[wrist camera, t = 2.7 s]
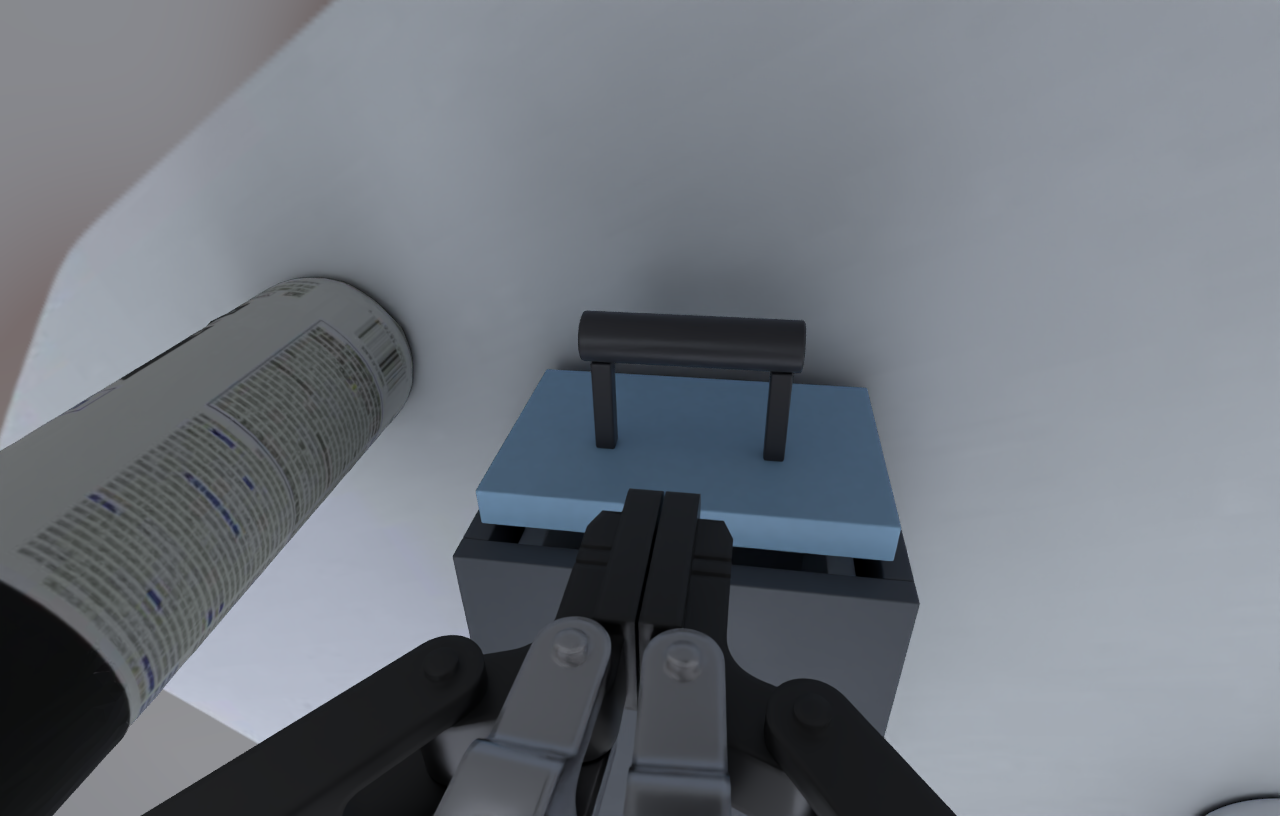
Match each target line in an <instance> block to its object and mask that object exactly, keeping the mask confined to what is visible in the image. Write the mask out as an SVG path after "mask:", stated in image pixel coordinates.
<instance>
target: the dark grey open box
mask: <svg viewBox="0 0 1280 816" xmlns="http://www.w3.org/2000/svg"><path fill="white" fill-rule="evenodd" d="M525 528H526V527H520V526H509V525H498V524H487V523H482V522H481V517H480V511H479V510H478V512H477V514H476V515H475V517H474V519H473V521H472V523H471V524H470V526H469V528H468V530H467V532H466V533H465V535H464V537H463V539H462V541H461V543H460V544H459V546H458V548H457V550H456V551H455V553H454V555H453V560H454V565H455V570H456V574H457V579H458V583H459V588H460V593H461V597H462V602H463V606H464V611H465V616H466V620H467V625H468V629H469V634H470V638H471V640H473V641H474V642H475V643H476V644H478V646H479V647H480V648H481V650H482V653H483V654H489V653H495V652H501V651H507V650H512V649H517V648H520V647H523V646H526V645H528V644H530V643H532V642H533V640H534V638H535V637H536V635H537V634H538V633H539V631H540V630H541V629H542V628H544V627H545V626H546V625H548V624H549V623H551V622H553V621H554V620H555V618H556V615H557V612H558V609H559V606H560V603H561V601H562V598H563V595H564V592H565V589H566V586H567V583H568V580H569V577H570V574H571V571H572V568H573V565H574V563H575V562H576V557H577V554H578V551H579V549H568V548H558V547H548V546H538V545H527V544H518V543H519V541H520V539H521V536H522V534H523V532H524V530H525ZM853 560H854V566H855V573H856V576H846V575H836V574H826V573H815V572H805V571H795V570H784V569H774V568H764V567H754V566H743V565H733V564H731V580H730V596H729V611H728V626H727V644H728V648H729V651H730V653H731V655H732V657H733V658H734V660H735V661H736V662H737V664H738V665H739V666H740V667H741V668H742V669H743V670H745V671H746V672H747V673H749V674H750V675H752V676H754V677H756V678H758V679H760V680H762V681H764V682H767V683H769V684H772V685H774V686H776V687H778V686H779V685H781V684H782V683H784V682H787V681H789V680H793V679H800V678H807V679H814V680H819V681H821V682H824V683H827V684H828V685H830V686H832V687H834V688H835V689H837V690H838V691H840V692H841V693H842V694H843V695H844V696H845V697H846V698H847V699H848V700H849V701H850V702H851V703H852V704H853V706H854V707H855V708H856V709H857V710H858V711H859V712H860V713H861V714H862V715H863V716H864V717H865V718H866V719H867V720H868V722H869V723H870V724H871V725H872V726H873V727H874V728H875V729H876V730H877V731H878V732H879V733H880V734H881V735H882V736H883V738H884V735H885V731H886V727H887V724H888V720H889V716H890V712H891V709H892V705H893V701H894V698H895V694H896V690H897V686H898V683H899V679H900V675H901V672H902V668H903V664H904V660H905V657H906V653H907V649H908V646H909V642H910V638H911V634H912V631H913V627H914V623H915V619H916V616H917V612H918V608H919V605H920V603H919V599H918V595H917V591H916V587H915V583H914V579H913V575H912V571H911V567H910V563H909V559H908V554H907V550H906V546H905V542H904V538H903V534H902V530H901V531H900V535H899V540H898V544H897V548H896V553H895V557H894V560H893V561H884V560H873V559H862V558H853ZM636 718H637V711H633V710H625V709H624V710H623V715H622V720H621V725H620V730H619V734H618V737H617V750H616V754H615V758H614V761H613V765H612V768H611V772H610V775H609V779H608V783H607V786H606V790H605V793H604V797H603V800H602V804H601V807H600V811H599V814H598V816H623V811H624V801H625V791H626V782H627V775H628V770H629V767H630V766H631V764H632V758H633V748H634V738H635V728H636ZM731 814H732V816H748V815H746V814H744V813H742V812H740V811H738V810H736V809H734V808H733V807H731Z"/></svg>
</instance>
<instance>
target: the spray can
mask: <svg viewBox="0 0 1280 816" xmlns="http://www.w3.org/2000/svg"><path fill="white" fill-rule="evenodd" d="M412 367H413V360H412V355H411V351H410V348H409V345H408V343H407V340H406V337H405V335H404V332H403V330H402V328H401V327H400V326H399V325H398V323H397V322H396V321H395V320H394V319H393V318H392V317H391V316H390V315H389V314H388V313H387V312H386V311H385V310H384V309H383V308H382V307H381V306H380V305H379V304H378V303H377V302H376V301H374V300H373V299H372V298H370V297H369V296H368V295H366V294H364V293H363V292H361V291H359V290H358V289H356V288H354V287H353V286H351V285H349V284H347V283H344V282H341V281H337V280H331V279H326V278H300V279H292V280H289V281H285V282H282V283H279V284H277V285H275V286H273V287H271V288H269V289H267V290H265V291H264V292H262V293H260V294H258V295H257V296H255V297H253V298H252V299H250V300H249V301H247V302H245V303H244V304H242V305H240V306H239V307H237V308H235V309H234V310H232V311H230V312H229V313H227V314H225V315H223V316H221V317H219V318H217V319H215V320H213V321H211V322H210V323H209V324H208V325H207V326H206V327H205V328H203V329H202V330H200V331H198V332H196V333H195V334H193V335H191V336H189V337H188V338H186V339H185V340H183V341H182V342H180V343H178V344H177V345H175V346H173V347H172V348H170V349H169V350H167V351H165V352H164V353H162V354H160V355H159V356H157V357H155V358H154V359H152V360H150V361H149V362H147V363H145V364H144V365H142V366H140V367H139V368H137V369H135V370H134V371H132V372H130V373H129V374H127V375H126V376H124V377H122V378H121V379H119V380H117V381H116V382H114V383H112V384H111V385H109V386H107V387H106V388H104V389H102V390H101V391H99V392H97V393H96V394H94V395H92V396H91V397H89V398H87V399H86V400H84V401H82V402H81V403H79V404H77V405H76V406H74V407H73V408H71V409H69V410H68V411H66V412H64V413H63V414H61V415H59V416H58V417H56V418H54V419H53V420H51V421H49V422H47V423H46V424H44V425H42V426H41V427H39V428H38V429H36V430H34V431H33V432H31V433H30V434H28V435H26V436H25V437H23V438H22V439H20V440H18V441H17V442H15V443H13V444H12V445H10V446H8V447H6V448H5V449H3V450H1V451H0V816H53V815H54V813H55V812H56V811H57V810H58V809H59V808H60V807H61V805H62V804H63V803H64V802H65V801H66V800H67V799H68V798H69V797H70V795H71V794H72V793H73V792H74V791H75V790H76V789H77V788H78V787H79V786H80V784H81V783H82V782H83V781H84V780H85V779H86V778H87V777H88V776H89V775H90V773H91V772H92V771H93V770H94V769H95V768H96V767H97V766H98V764H99V763H100V762H101V761H102V760H103V759H104V758H105V757H106V755H107V754H108V753H109V752H110V751H111V750H112V749H113V748H114V747H115V746H116V745H117V744H118V743H119V742H120V741H121V739H122V738H123V737H124V735H125V733H126V732H127V730H128V728H129V727H130V726H131V725H132V723H133V722H134V721H135V720H136V719H137V718H138V717H139V715H140V714H141V713H142V712H143V711H144V710H145V709H146V708H147V706H148V705H149V704H150V703H151V702H152V701H153V700H154V699H155V698H156V697H157V695H158V694H159V693H160V692H161V690H162V689H163V688H164V687H165V685H166V684H167V683H168V682H169V681H170V679H171V678H172V677H173V676H174V674H175V673H176V672H177V671H178V670H179V668H180V667H181V666H182V665H183V664H184V663H185V662H186V661H187V659H188V658H189V657H190V656H191V655H192V654H193V653H194V652H195V651H196V650H197V648H198V647H199V646H200V645H201V643H202V642H203V641H204V640H205V639H206V638H207V636H208V635H209V634H210V633H211V632H212V631H213V629H214V628H215V627H216V626H217V625H218V624H219V622H220V621H221V620H222V619H223V618H224V616H225V615H226V614H227V613H228V612H229V611H230V609H231V608H232V607H233V606H234V605H235V604H236V602H237V601H238V600H239V599H240V598H241V597H242V595H243V594H244V593H245V592H246V591H247V590H248V588H249V587H250V586H251V585H252V584H253V583H254V581H255V580H256V579H257V578H258V577H259V576H260V575H261V573H262V572H263V571H264V570H265V569H266V568H267V566H268V565H269V564H270V563H271V562H272V560H273V559H274V558H275V557H276V556H277V555H278V553H279V552H280V551H281V550H282V549H283V548H284V546H285V545H286V544H287V543H288V542H289V541H290V540H291V538H292V537H293V536H294V535H295V534H296V533H297V531H298V530H299V529H300V528H301V527H302V526H303V524H304V523H305V522H306V521H307V520H308V519H309V517H310V516H311V515H312V514H313V512H314V511H315V510H316V509H317V508H318V507H319V506H320V504H321V503H322V502H323V501H324V500H325V499H326V498H327V496H328V495H329V494H330V493H331V492H332V491H333V489H334V488H335V487H336V486H337V485H338V483H339V482H340V481H341V480H342V479H343V477H344V476H345V475H346V474H347V473H348V472H349V471H350V470H351V469H352V467H353V466H354V465H355V464H356V462H357V461H358V460H359V459H360V458H361V456H362V455H363V454H364V453H365V452H366V451H367V450H368V448H369V447H370V446H371V445H372V443H373V442H374V441H375V440H376V439H377V438H378V437H379V435H380V434H381V433H382V432H383V431H384V429H385V428H386V427H387V426H388V425H389V424H390V422H391V421H392V420H393V419H394V418H395V417H396V415H397V414H398V413H399V412H400V410H401V409H402V408H403V406H404V404H405V402H406V400H407V398H408V395H409V393H410V390H411V387H412Z"/></svg>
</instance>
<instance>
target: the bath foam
mask: <svg viewBox="0 0 1280 816" xmlns="http://www.w3.org/2000/svg"><path fill="white" fill-rule="evenodd" d="M1205 816H1280V799H1257V800H1249V801H1243V802H1239V803H1235V804H1231V805H1228V806H1225V807H1222V808H1219V809H1217V810H1215V811H1213V812H1211V813H1209V814H1207V815H1205Z"/></svg>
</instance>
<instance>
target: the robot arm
mask: <svg viewBox="0 0 1280 816" xmlns="http://www.w3.org/2000/svg"><path fill="white" fill-rule="evenodd" d="M700 513H701V494H696V493H684V492H671V491H666V493H665V495H664V491H657V490H645V489H633V488H629V490H628V493H627V496H626V500H625V503H624V507H623V510H622V512H616V511H605V510H602V511H601V512H600V513H599V514H598V515H597V516H596V517H595V518H594V519H593V520H592V521H591V522H590V523H589V524H588V525H587V528H586V530H585V533H584V536H583V539H582V542H581V547H580V548H579V551H578V554H577V557H576V562H575V563H574V565H573V568H572V571H571V574H570V577H569V580H568V583H567V586H566V589H565V592H564V595H563V598H562V601H561V603H560V606H559V609H558V612H557V615H556V618H555V620H554V621H553V622H551V623H549V624H548V625H546V626H545V627H544V628H542V629H541V630H540V631H539V633H538V634H537V635H536V637H535V638H534V640H533V642H532V643H530V644H528V645H526V646H523V647H520V648H517V649H512V650H507V651H501V652H495V653H489V654H483V653H482V650H481V648H480V647H479V646H478V644H476V643H475V642H474V641H473V640H471V639H469V638H466V637H463V636H458V635H447V636H441V637H437V638H434V639H431V640H429V641H427V642H425V643H423V644H421V645H420V646H418V647H417V648H415V649H413V650H412V651H410V652H408V653H407V654H405V655H403V656H402V657H400V658H399V659H397V660H395V661H394V662H392V663H390V664H389V665H387V666H385V667H384V668H382V669H381V670H379V671H377V672H376V673H374V674H372V675H371V676H369V677H367V678H366V679H364V680H363V681H361V682H359V683H358V684H356V685H354V686H353V687H351V688H349V689H348V690H346V691H344V692H343V693H341V694H340V695H338V696H336V697H335V698H333V699H331V700H330V701H328V702H326V703H325V704H323V705H322V706H320V707H318V708H317V709H315V710H313V711H312V712H310V713H308V714H307V715H305V716H304V717H302V718H300V719H299V720H297V721H295V722H294V723H292V724H290V725H289V726H287V727H286V728H284V729H282V730H281V731H279V732H277V733H276V734H274V735H272V736H271V737H269V738H267V739H266V740H264V741H263V742H261V743H259V744H258V745H256V746H254V747H253V748H251V749H249V750H248V751H246V752H245V753H243V754H241V755H240V756H238V757H236V758H235V759H233V760H232V761H230V762H228V763H227V764H225V765H223V766H222V767H220V768H218V769H217V770H215V771H213V772H212V773H210V774H209V775H207V776H205V777H204V778H202V779H200V780H199V781H197V782H195V783H194V784H192V785H191V786H189V787H187V788H186V789H184V790H182V791H181V792H179V793H177V794H176V795H174V796H172V797H171V798H169V799H168V800H166V801H164V802H163V803H161V804H159V805H158V806H156V807H154V808H153V809H151V810H150V811H148V812H146V813H145V814H143V815H141V816H598V814H599V811H600V807H601V804H602V800H603V797H604V793H605V790H606V786H607V783H608V779H609V775H610V772H611V768H612V765H613V761H614V758H615V754H616V750H617V737H618V734H619V730H620V725H621V720H622V715H623V710H624V709H625V710H633V711H637V718H636V728H635V738H634V748H633V758H632V764H631V766H630V767H629V770H628V775H627V782H626V791H625V801H624V811H623V816H732V814H731V807H733V808H734V809H736V810H738V811H740V812H742V813H744V814H746V815H748V816H956V814H955V813H954V812H953V811H952V810H951V809H950V808H949V807H948V806H947V805H946V804H945V803H944V802H943V801H942V799H941V798H940V797H939V796H938V795H937V794H936V793H935V792H934V791H933V790H932V789H931V788H930V787H929V786H928V785H927V783H926V782H925V781H924V780H923V779H922V778H921V777H920V776H919V775H918V774H917V773H916V772H915V771H914V770H913V769H912V767H911V766H910V765H909V764H908V763H907V762H906V761H905V760H904V759H903V758H902V757H901V756H900V755H899V754H898V753H897V751H896V750H895V749H894V748H893V747H892V746H891V745H890V744H889V743H888V742H887V741H886V740H885V739H884V738H883V736H882V735H881V734H880V733H879V732H878V731H877V730H876V729H875V728H874V727H873V726H872V725H871V724H870V723H869V722H868V720H867V719H866V718H865V717H864V716H863V715H862V714H861V713H860V712H859V711H858V710H857V709H856V708H855V707H854V706H853V704H852V703H851V702H850V701H849V700H848V699H847V698H846V697H845V696H844V695H843V694H842V693H841V692H840V691H838V690H837V689H835V688H834V687H832V686H830V685H828V684H827V683H824V682H821V681H819V680H814V679H807V678H800V679H793V680H789V681H787V682H784V683H782V684H781V685H779V686H778V687H776V686H774V685H772V684H769V683H767V682H764V681H762V680H760V679H758V678H756V677H754V676H752V675H750V674H749V673H747V672H746V671H745V670H743V669H742V668H741V667H740V666H739V665H738V664H737V662H736V661H735V660H734V658H733V657H732V655H731V653H730V651H729V648H728V644H727V626H728V611H729V596H730V580H731V564H732V549H733V538H732V536H731V534H730V532H729V530H728V528H727V526H726V524H725V522H724V521H721V520H710V519H700Z"/></svg>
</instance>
